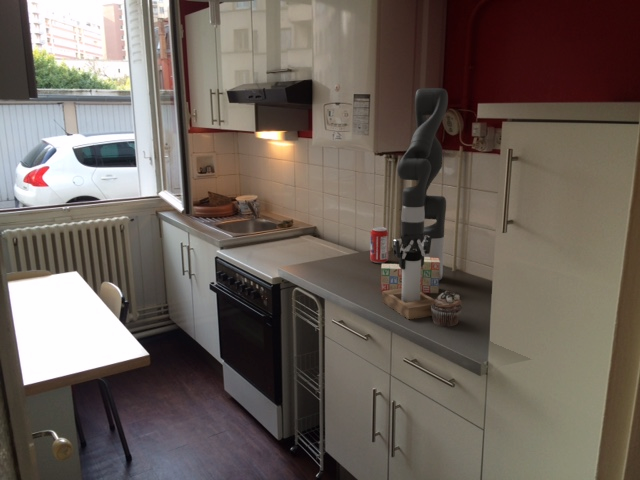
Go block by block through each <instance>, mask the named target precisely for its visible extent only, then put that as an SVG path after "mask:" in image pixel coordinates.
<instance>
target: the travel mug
mask: <svg viewBox="0 0 640 480" xmlns="http://www.w3.org/2000/svg"><path fill="white" fill-rule="evenodd" d="M406 253H407V254H406V256H405V269H402V301H403V302H405V303H409V302H415V301H420V281H421V252H420V251H417V250H416V249H412V250H409V252H408V251H407V252H406Z"/></svg>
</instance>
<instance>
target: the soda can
mask: <svg viewBox="0 0 640 480" xmlns="http://www.w3.org/2000/svg"><path fill="white" fill-rule="evenodd" d="M389 234H390V233H389V231H388V228H386V227H383V226H382V227H381V226H379V227H373V228H372V229H371V231H370V247H369V251H370V252H369V254H370V258H369V259H370V261H371V262H372V263H375V264H386V262H388V260H389Z"/></svg>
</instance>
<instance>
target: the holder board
mask: <svg viewBox="0 0 640 480" xmlns="http://www.w3.org/2000/svg"><path fill="white" fill-rule="evenodd" d="M381 293H382V294H381V295H382V300H381V301H382V303H383V304H385V305H386V306H388V307H389V308H390V307H391V309H392V310H393V309H394V311H395V312H396V311H397V312H396V313H398V314H399V313H400V314H399V315H401V316H402V315H403V316H402V317H404V318H405V317H406V319H407V320H408V319H410V320H415V319H419V318H421V319H422V318H426V317H432V310H431V306H432V304H434V300H435V299H434V298H433V297H431V296H429V295H427V294H426V293H422V292H420V301H415V302H409V303H405V302H403V301H402V288H401V289H394V290H387V291H381ZM414 318H415V319H414Z"/></svg>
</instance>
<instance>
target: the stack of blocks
mask: <svg viewBox="0 0 640 480" xmlns="http://www.w3.org/2000/svg"><path fill="white" fill-rule="evenodd" d="M439 268H440V261H439V258H430V257H424V265H423V267H421V281H420V292H422V293H424V294H439V289H440V288H439V287H440V286H439V285H440V280H439V275H440V270H439ZM380 271H381V272H380V291H381V292H382V291H387V290H394V289H401V288H402V269H401V268H400V267H399V263H381V268H380Z"/></svg>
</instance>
